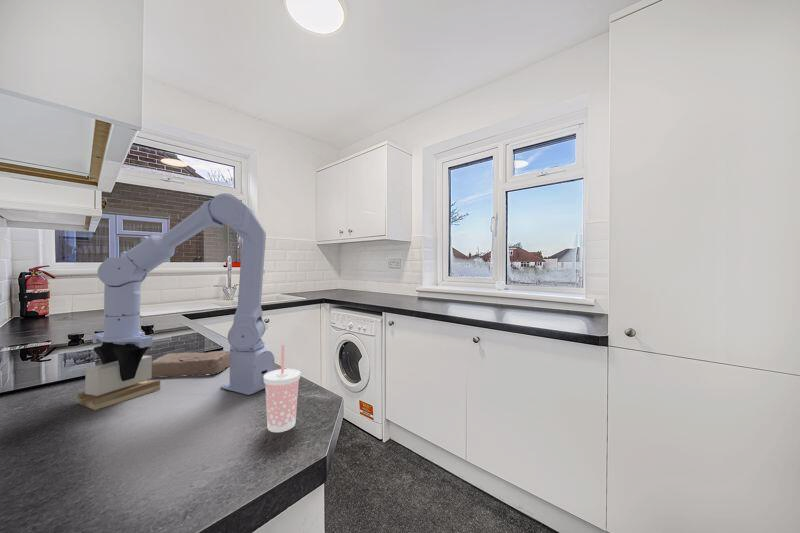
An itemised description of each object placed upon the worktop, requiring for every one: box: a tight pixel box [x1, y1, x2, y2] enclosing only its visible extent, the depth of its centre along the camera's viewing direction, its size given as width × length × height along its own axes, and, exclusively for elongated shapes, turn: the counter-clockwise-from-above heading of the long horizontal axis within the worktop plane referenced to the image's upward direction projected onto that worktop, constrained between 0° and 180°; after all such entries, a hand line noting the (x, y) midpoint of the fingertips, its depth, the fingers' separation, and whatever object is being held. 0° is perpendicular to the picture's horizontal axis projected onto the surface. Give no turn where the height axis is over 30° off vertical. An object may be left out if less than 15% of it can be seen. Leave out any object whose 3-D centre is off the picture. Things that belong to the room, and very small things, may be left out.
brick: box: [151, 350, 230, 378], centre depth 80 cm, size 17×8×5 cm, turn 97°
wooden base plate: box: [77, 379, 161, 411], centre depth 64 cm, size 7×11×2 cm, turn 156°
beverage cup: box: [263, 344, 302, 433], centre depth 53 cm, size 6×6×14 cm
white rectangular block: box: [84, 354, 153, 396], centre depth 64 cm, size 10×4×5 cm, turn 165°
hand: (121, 378), depth 64 cm, fingers closed on white rectangular block, 3 cm apart
